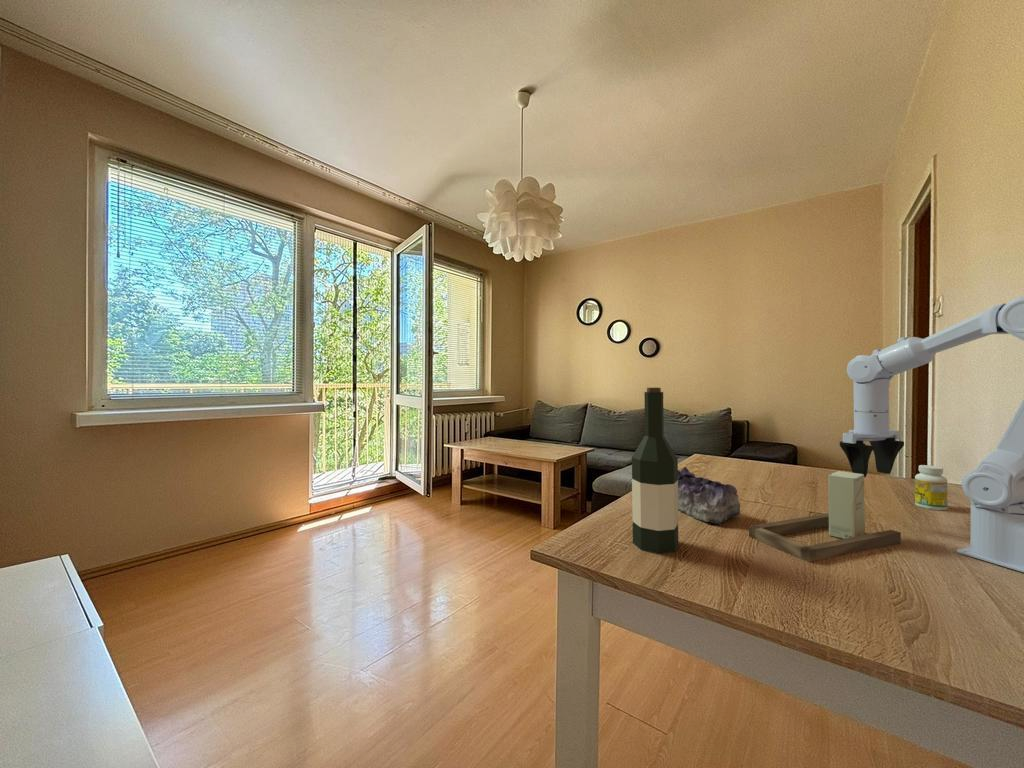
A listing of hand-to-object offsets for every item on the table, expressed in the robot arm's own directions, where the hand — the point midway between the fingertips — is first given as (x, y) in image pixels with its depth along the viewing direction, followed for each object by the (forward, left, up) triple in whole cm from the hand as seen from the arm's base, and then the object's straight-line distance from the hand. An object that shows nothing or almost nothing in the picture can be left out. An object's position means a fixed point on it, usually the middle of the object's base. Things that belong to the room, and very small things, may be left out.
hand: (871, 474), depth 88 cm
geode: (+19, +30, -11) cm, 37 cm away
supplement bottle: (+2, -23, -10) cm, 25 cm away
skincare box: (-3, +13, -10) cm, 17 cm away
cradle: (-3, +20, -10) cm, 22 cm away
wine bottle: (+6, +51, -10) cm, 52 cm away
